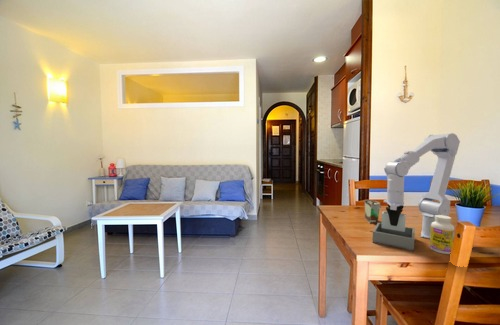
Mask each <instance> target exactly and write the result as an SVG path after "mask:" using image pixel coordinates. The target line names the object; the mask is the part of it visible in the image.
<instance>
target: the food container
mask: <svg viewBox="0 0 500 325" xmlns="http://www.w3.org/2000/svg"><path fill="white" fill-rule="evenodd" d="M363 203H364V219H365V220H366V221H367V222H368V223H369V224H372V225H373V224H377V223H379V216H380V209H381V208H382V206H381V202H379V201H376V200H371V199H364V202H363Z"/></svg>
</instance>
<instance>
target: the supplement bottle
mask: <svg viewBox="0 0 500 325" xmlns="http://www.w3.org/2000/svg"><path fill="white" fill-rule="evenodd" d="M450 222H452V217H450V216H449V215H448V216H444V215H435V222H432V223H431V236H430V238H429V241H430V242H429V248H430V250H431V251H433V252H436V253H439V254H443V255H451V254H450V252H451V248H452V243H453V239H454V240H455V226H454V225H453V224H452V223H451V224H450Z"/></svg>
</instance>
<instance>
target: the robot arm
mask: <svg viewBox="0 0 500 325" xmlns="http://www.w3.org/2000/svg"><path fill="white" fill-rule="evenodd" d="M460 142H461V141H460V138H459V137H458V135H457V134H456V133H452V132H451V133H446V134H445V133H443V134H442V133H441V134H429V135H427V137H425V138H424V139H423V141H422V142H421V143H420V144H419V145H418V146H416V148H414V149H413V150H408V151H407V150H405V151H404V152H403V153H402V154H401V155H400V156H399V157H397V158H395V160H394V161H389V162H388V163H386V165H385V167H384V168H383V169H384V173H385V175H386V176H385V177H386V179H387V186H386V188H387V190H386V199H384V200H383V203H385V204H387V206H386V207H385V210H386V212H388V215H389V219H390V224H391V225H392V226H397V224H398V220H399V216H400V214H402V212H403V209H404V207H405V201H404V200H405V198H404V197H405V194H404V193H405V176H406V175H408V173H409V171H410V169H411V168H412V167H414V166H415V165H416V164H417V163H419V162H420V158H421V157H422V156H424V155H425V154H427V153H428V152H432V153H433V155H435V156H437V161H436V164H435V169H434V173H433V176H432V180H431V184H430V188H429V191H428V192H427V193H425V194H422V197H421V199H420V200H419V202H418V204H417V209H418V211H419V212H420V214H421V215H422V222H421V224H422V225H421V227H422V228H421V229H422V230H421V231H420V237H421V238H426V239H430V236H431V223H432V222H435V215H444V216H448V217H449V215H450V214H451V201H450V199H448V197H447V196H446V194H447V193H446V192H447V188H448V185H449V182H450V178H451V174H452V170H453V165H454V163H455V160H456V155H457V154H458V150H459V147H460ZM451 222H452V221H451ZM451 222H450V224H452V223H451Z"/></svg>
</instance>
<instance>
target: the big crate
mask: <svg viewBox="0 0 500 325" xmlns="http://www.w3.org/2000/svg"><path fill="white" fill-rule="evenodd" d="M381 225H382V222H378V223H376V225H375V227H374V229H373V230H372V243H373V244H378V245H382V246H388V247H392V248H398V249H402V250H407V251H412V252H414V251H415V239H416V238H415V236H416V233H415V232H416V229H415V227H409V226H405V232H402V231H396V230H391V229H385V228H381Z"/></svg>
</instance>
